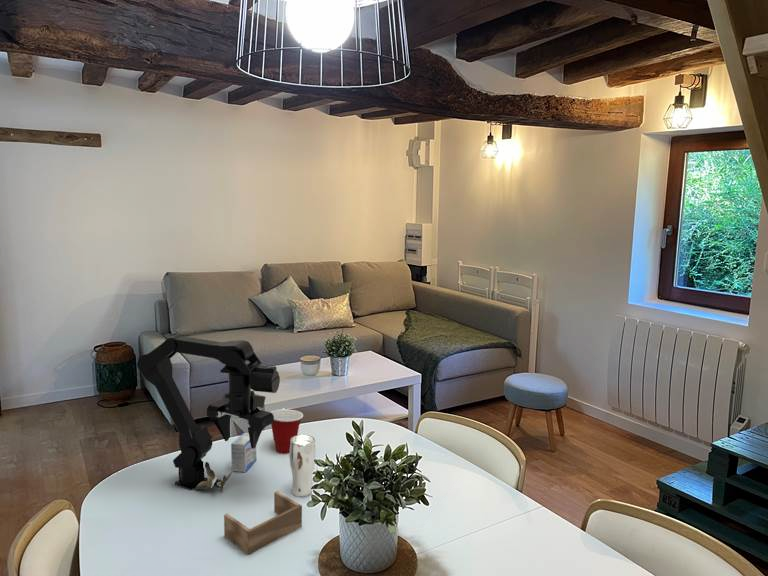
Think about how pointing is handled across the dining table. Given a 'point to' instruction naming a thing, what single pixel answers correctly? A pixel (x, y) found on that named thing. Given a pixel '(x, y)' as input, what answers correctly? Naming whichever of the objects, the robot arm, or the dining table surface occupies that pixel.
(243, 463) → the medicine box
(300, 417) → the plastic cup
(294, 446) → the beer glass
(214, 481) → the eagle figurine
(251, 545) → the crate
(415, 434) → the dining table surface
